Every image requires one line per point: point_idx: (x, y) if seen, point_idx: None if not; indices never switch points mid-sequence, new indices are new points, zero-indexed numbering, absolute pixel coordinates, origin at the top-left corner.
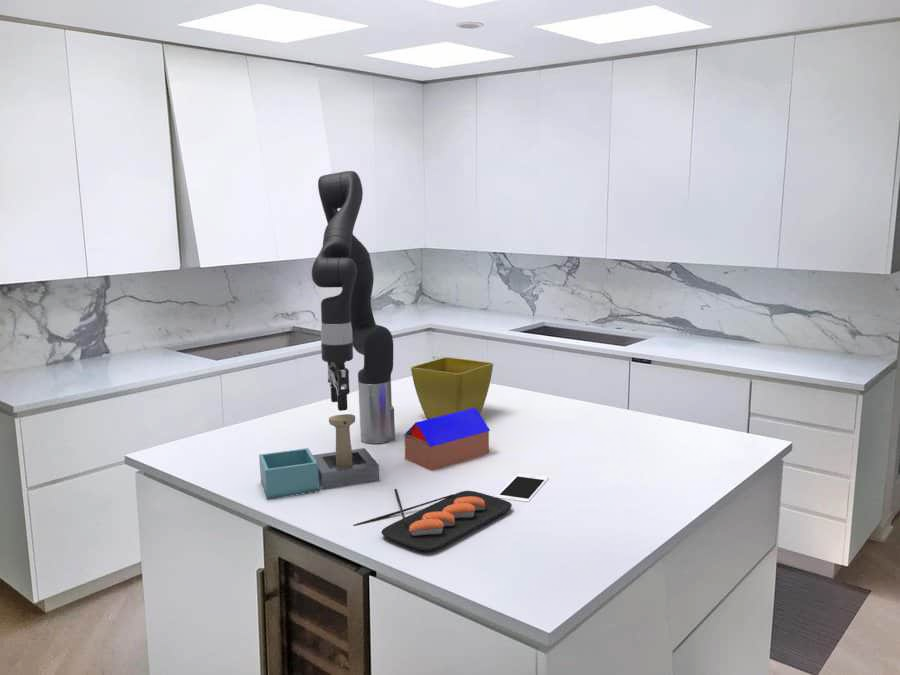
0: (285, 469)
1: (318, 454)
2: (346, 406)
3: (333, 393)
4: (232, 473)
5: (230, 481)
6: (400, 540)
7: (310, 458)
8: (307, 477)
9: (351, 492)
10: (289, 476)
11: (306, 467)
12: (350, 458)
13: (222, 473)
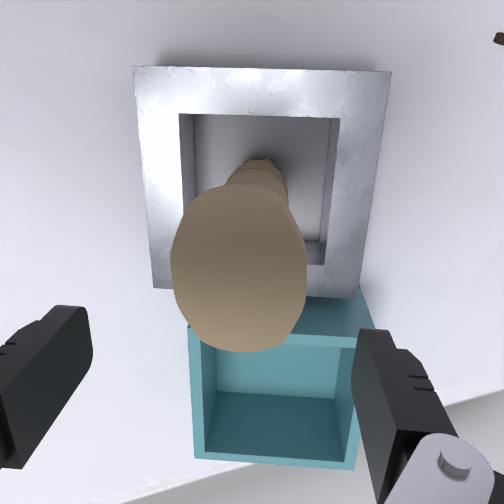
0: None
1: (152, 263)
2: (391, 348)
3: (52, 403)
4: (121, 429)
5: (176, 440)
6: None
7: (301, 342)
8: None
9: (423, 199)
10: None
11: None
12: (281, 177)
13: (113, 445)
